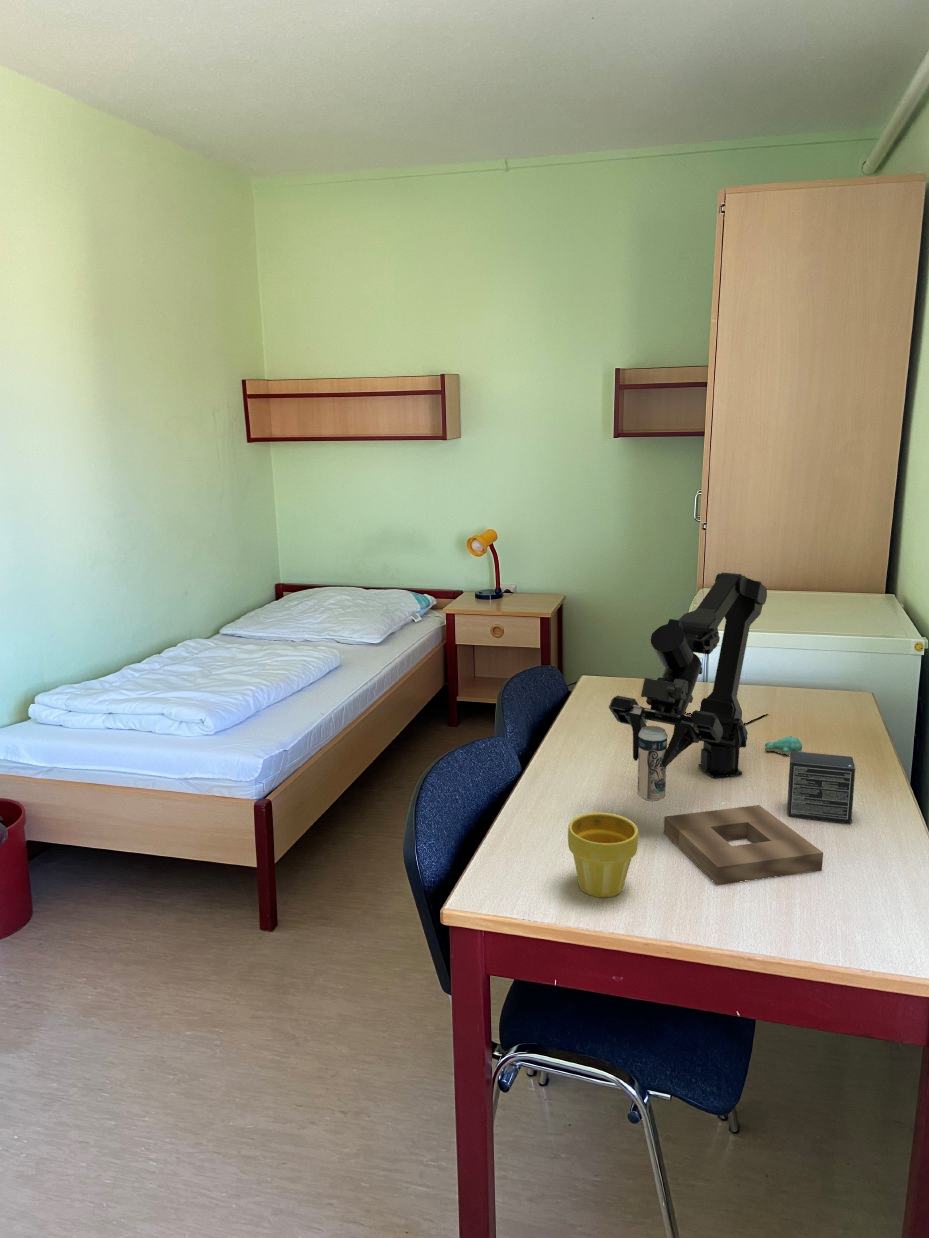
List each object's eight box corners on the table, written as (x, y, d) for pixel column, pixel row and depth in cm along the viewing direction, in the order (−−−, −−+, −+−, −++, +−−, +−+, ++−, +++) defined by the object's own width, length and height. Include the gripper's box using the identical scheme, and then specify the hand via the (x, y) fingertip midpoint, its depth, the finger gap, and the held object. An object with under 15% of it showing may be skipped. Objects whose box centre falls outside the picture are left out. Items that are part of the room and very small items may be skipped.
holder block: (758, 820, 152) (759, 804, 151) (821, 870, 135) (823, 852, 134) (663, 832, 148) (664, 816, 147) (717, 885, 131) (718, 866, 130)
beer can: (654, 805, 143) (656, 737, 140) (631, 796, 147) (632, 729, 144) (671, 796, 146) (673, 729, 144) (647, 788, 150) (649, 722, 147)
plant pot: (644, 903, 126) (647, 841, 124) (574, 906, 125) (575, 844, 123) (626, 867, 136) (627, 810, 134) (561, 871, 136) (562, 813, 133)
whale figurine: (802, 759, 180) (803, 742, 179) (765, 756, 182) (766, 739, 181) (800, 749, 185) (801, 733, 185) (764, 746, 187) (765, 730, 187)
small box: (848, 809, 156) (853, 755, 154) (852, 825, 150) (857, 768, 148) (786, 802, 159) (790, 748, 157) (787, 817, 153) (791, 761, 151)
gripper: (614, 650, 150) (583, 729, 144) (720, 666, 139) (690, 753, 133) (633, 683, 158) (604, 759, 152) (734, 700, 147) (707, 783, 141)
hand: (649, 762), depth 144 cm, fingers closed on beer can, 5 cm apart
